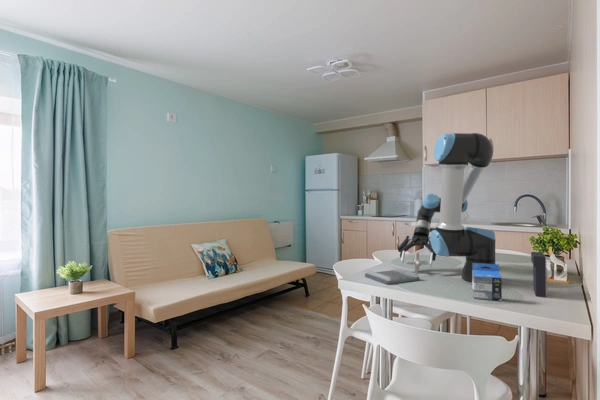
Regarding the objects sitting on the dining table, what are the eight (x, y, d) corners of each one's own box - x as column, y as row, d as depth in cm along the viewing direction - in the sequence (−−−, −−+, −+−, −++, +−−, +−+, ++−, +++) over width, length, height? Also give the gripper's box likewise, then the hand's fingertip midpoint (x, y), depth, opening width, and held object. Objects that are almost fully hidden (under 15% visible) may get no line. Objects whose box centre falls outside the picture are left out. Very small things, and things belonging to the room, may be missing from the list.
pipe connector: (424, 270, 165) (424, 251, 165) (430, 275, 155) (430, 254, 155) (404, 270, 166) (404, 250, 166) (409, 274, 156) (408, 254, 156)
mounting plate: (419, 280, 145) (419, 273, 145) (386, 284, 138) (386, 277, 138) (395, 272, 160) (395, 266, 160) (364, 276, 153) (364, 270, 153)
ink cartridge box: (473, 298, 117) (473, 264, 118) (472, 295, 121) (471, 262, 121) (502, 301, 114) (501, 266, 114) (499, 298, 118) (499, 264, 118)
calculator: (548, 297, 118) (547, 256, 118) (533, 296, 120) (533, 255, 120) (545, 290, 127) (544, 252, 127) (531, 289, 129) (531, 251, 130)
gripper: (448, 236, 167) (444, 271, 154) (399, 234, 180) (392, 265, 167) (446, 226, 163) (442, 261, 150) (396, 225, 176) (388, 257, 163)
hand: (415, 264), depth 158 cm, fingers open, 13 cm apart
